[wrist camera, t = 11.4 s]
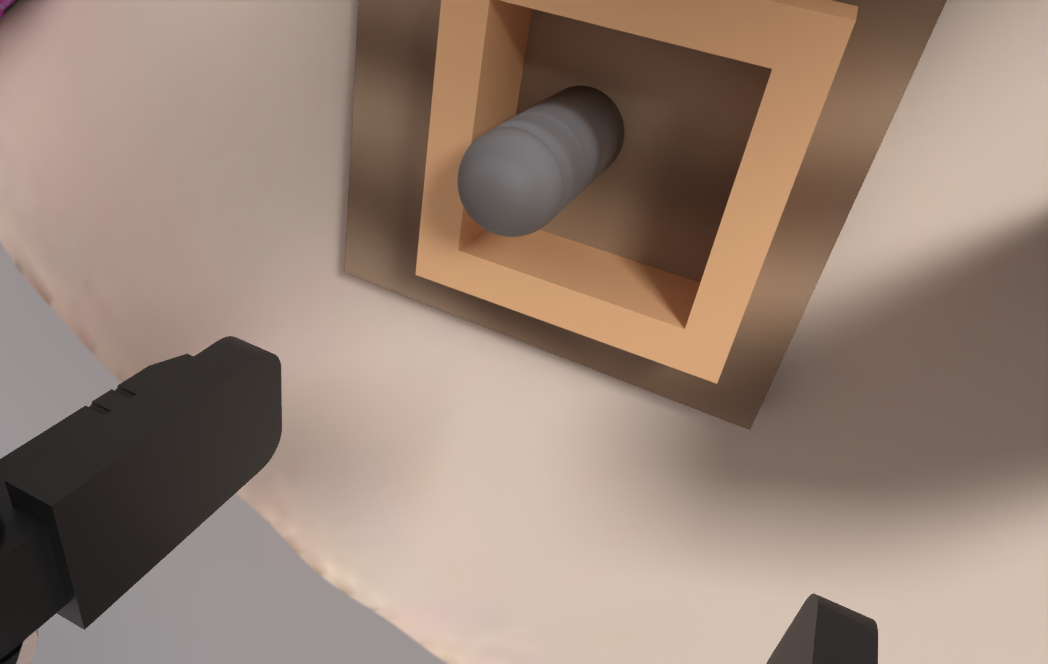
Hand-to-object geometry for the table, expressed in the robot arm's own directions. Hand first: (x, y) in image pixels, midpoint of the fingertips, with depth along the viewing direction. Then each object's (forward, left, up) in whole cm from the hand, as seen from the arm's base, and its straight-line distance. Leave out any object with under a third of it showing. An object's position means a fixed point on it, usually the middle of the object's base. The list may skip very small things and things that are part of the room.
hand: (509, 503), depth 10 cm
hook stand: (0, -5, -18) cm, 19 cm away
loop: (0, -3, -17) cm, 17 cm away
